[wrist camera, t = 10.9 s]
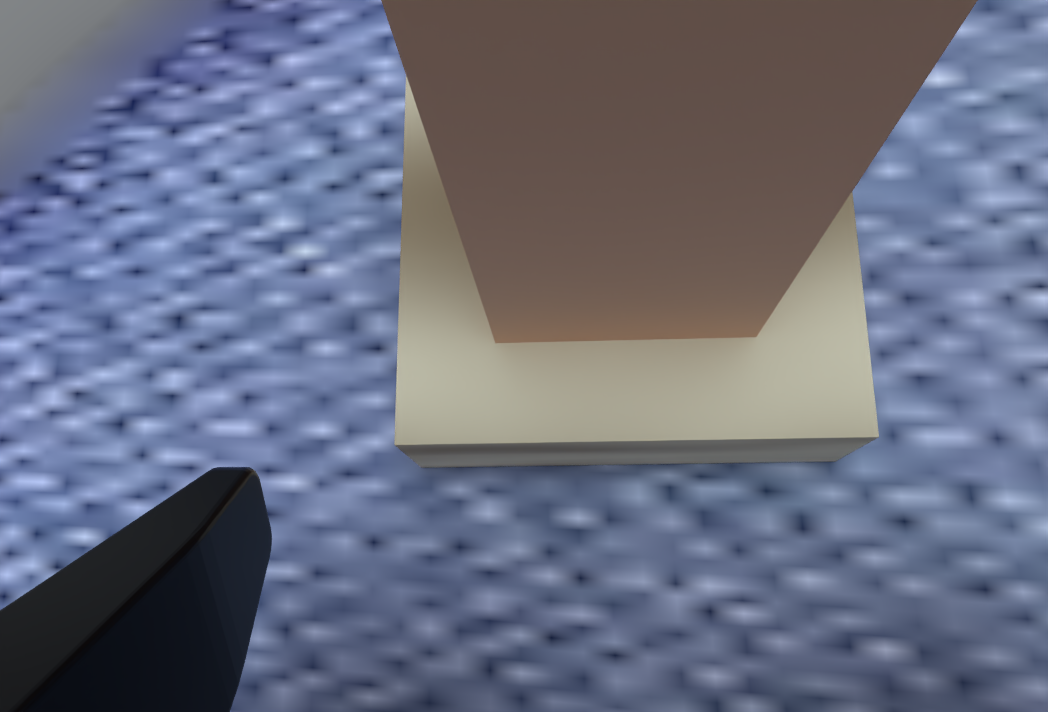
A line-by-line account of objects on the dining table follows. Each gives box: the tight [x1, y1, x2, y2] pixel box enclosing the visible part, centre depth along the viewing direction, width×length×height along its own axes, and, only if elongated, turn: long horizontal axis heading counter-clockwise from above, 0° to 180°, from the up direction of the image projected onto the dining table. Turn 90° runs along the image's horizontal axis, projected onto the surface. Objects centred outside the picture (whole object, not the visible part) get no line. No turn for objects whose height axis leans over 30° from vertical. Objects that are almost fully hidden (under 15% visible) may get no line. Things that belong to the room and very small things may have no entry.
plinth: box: [395, 76, 879, 468], centre depth 20 cm, size 9×9×3 cm
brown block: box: [381, 0, 978, 343], centre depth 12 cm, size 5×5×12 cm
